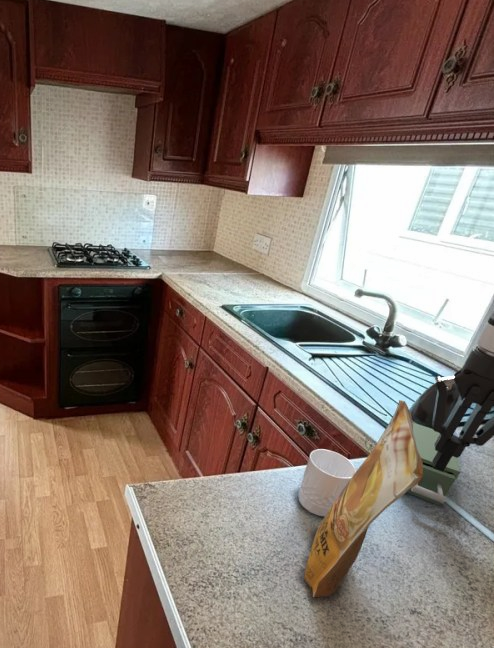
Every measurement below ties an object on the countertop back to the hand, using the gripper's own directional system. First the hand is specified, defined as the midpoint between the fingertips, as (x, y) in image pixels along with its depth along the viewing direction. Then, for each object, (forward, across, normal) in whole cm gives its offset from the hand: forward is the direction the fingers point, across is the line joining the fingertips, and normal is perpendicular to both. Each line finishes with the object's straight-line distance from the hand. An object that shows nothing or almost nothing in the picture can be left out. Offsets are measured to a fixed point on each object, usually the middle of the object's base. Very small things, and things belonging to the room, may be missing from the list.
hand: (437, 466), depth 75 cm
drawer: (+9, 0, +6) cm, 11 cm away
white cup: (+10, -17, -12) cm, 23 cm away
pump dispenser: (+10, +3, +33) cm, 35 cm away
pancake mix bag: (+11, -13, -25) cm, 30 cm away
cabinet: (+10, 0, +11) cm, 15 cm away
